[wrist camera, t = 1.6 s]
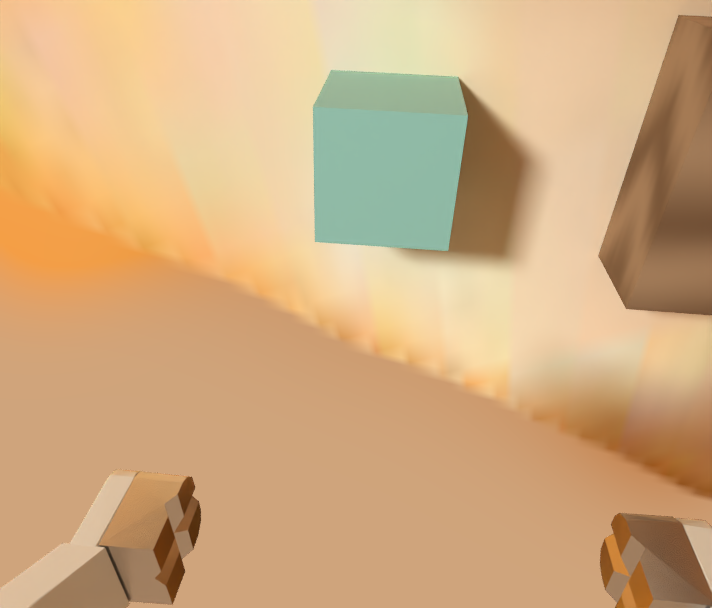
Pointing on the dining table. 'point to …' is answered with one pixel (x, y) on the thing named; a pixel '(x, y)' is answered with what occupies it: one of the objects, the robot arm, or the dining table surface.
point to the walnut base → (669, 187)
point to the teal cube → (387, 159)
